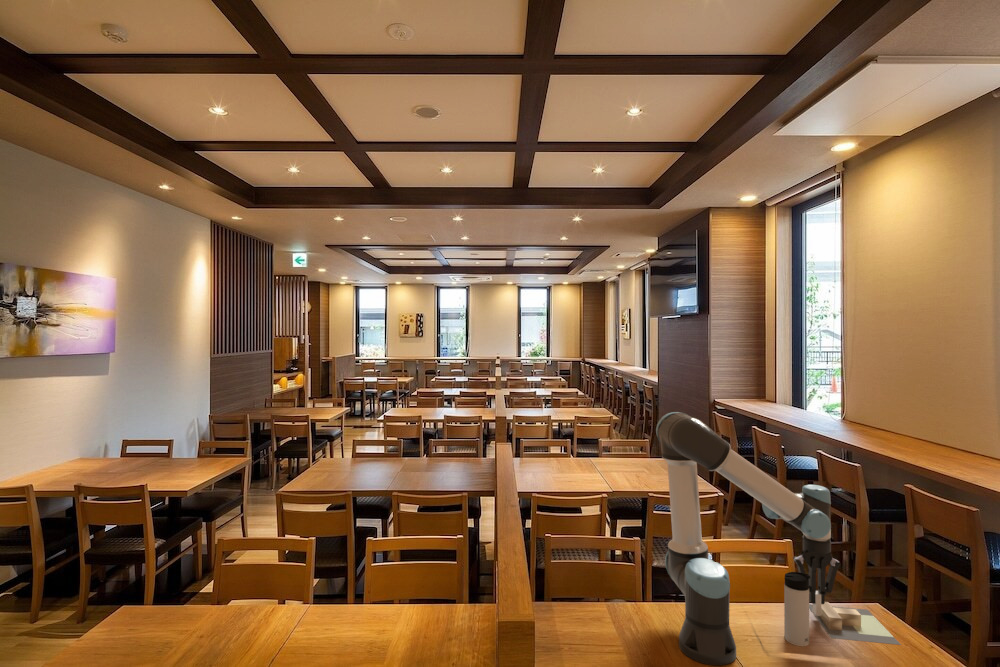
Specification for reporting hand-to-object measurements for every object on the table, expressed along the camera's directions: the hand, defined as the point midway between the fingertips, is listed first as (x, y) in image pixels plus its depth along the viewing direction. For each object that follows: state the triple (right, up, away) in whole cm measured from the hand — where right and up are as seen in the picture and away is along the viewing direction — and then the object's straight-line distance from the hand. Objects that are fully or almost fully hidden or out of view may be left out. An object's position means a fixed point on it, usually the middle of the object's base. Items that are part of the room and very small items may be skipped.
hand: (817, 613), depth 165 cm
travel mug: (-12, -3, -11) cm, 17 cm away
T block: (+6, -2, -1) cm, 7 cm away
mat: (+9, -3, -2) cm, 10 cm away
